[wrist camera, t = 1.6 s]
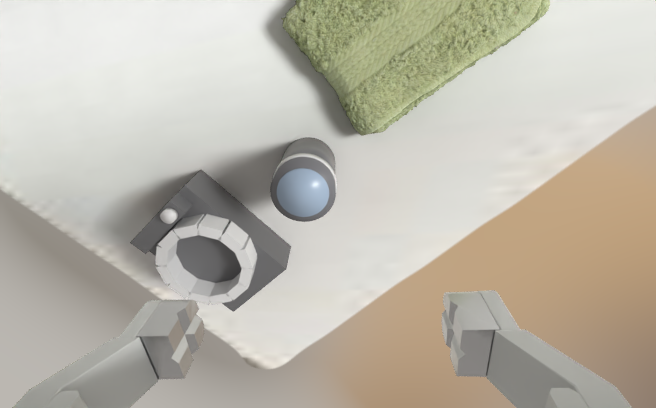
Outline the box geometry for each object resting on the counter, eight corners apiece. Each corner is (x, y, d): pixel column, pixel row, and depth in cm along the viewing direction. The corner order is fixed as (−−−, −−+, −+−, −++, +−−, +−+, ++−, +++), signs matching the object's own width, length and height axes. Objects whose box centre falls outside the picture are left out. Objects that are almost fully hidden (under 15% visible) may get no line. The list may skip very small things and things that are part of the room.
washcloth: (548, 9, 27) (575, 5, 24) (365, 140, 31) (368, 150, 28) (473, -172, 22) (494, -205, 19) (273, 13, 27) (265, 9, 24)
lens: (282, 187, 33) (270, 222, 27) (280, 135, 31) (266, 160, 24) (335, 189, 33) (335, 224, 27) (337, 137, 31) (338, 162, 24)
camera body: (153, 220, 35) (118, 254, 29) (202, 167, 32) (175, 193, 27) (241, 287, 38) (225, 329, 33) (292, 245, 36) (285, 282, 30)
